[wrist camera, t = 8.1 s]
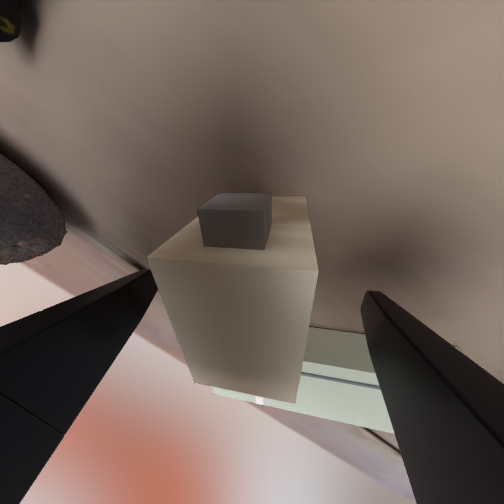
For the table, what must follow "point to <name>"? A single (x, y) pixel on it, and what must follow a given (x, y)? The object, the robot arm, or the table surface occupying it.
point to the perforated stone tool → (26, 216)
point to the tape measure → (10, 20)
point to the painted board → (334, 382)
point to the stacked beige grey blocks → (242, 292)
